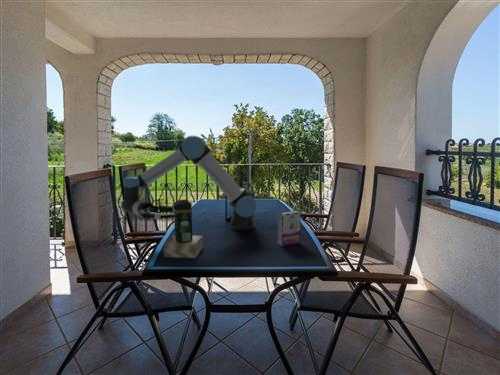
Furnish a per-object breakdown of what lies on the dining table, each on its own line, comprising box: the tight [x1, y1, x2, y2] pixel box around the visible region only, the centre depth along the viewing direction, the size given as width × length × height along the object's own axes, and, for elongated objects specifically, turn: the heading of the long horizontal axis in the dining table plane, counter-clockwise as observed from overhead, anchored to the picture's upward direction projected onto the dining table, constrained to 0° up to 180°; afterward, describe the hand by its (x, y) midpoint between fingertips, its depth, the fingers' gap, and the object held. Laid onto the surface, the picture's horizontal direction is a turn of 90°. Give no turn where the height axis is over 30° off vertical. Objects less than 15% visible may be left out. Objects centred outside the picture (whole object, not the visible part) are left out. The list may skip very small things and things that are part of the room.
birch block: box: [163, 234, 204, 259], centre depth 143 cm, size 14×14×6 cm
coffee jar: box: [173, 199, 193, 242], centre depth 141 cm, size 10×8×19 cm
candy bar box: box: [277, 210, 302, 248], centre depth 155 cm, size 11×5×16 cm, turn 117°
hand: (171, 214), depth 146 cm, fingers open, 13 cm apart
